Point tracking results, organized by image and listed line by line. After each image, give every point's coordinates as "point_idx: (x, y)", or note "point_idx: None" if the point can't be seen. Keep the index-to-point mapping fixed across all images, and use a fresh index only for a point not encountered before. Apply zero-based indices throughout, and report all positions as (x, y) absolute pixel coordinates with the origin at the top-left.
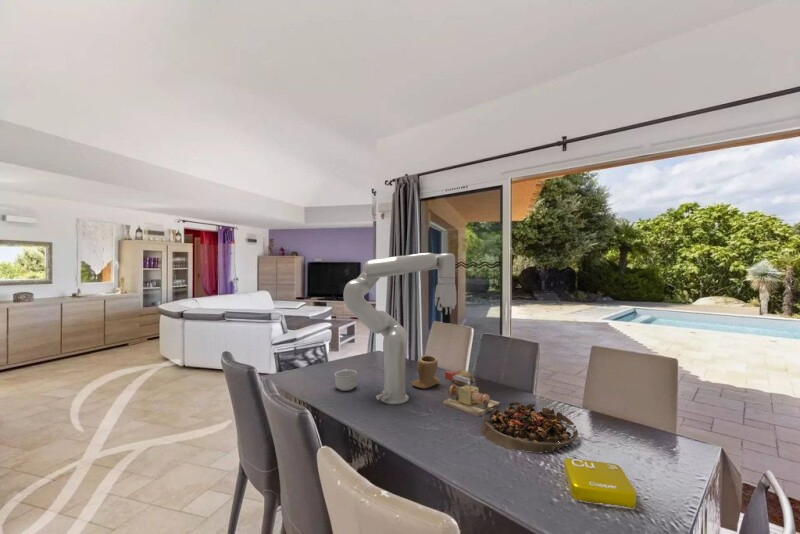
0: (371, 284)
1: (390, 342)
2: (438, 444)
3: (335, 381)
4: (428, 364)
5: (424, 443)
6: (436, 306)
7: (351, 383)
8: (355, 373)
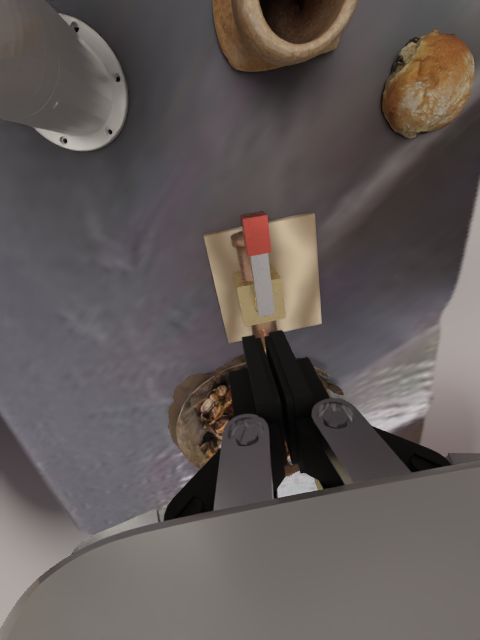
0: None
1: None
2: (69, 387)
3: None
4: (261, 50)
5: (42, 373)
6: (86, 562)
7: None
8: None
